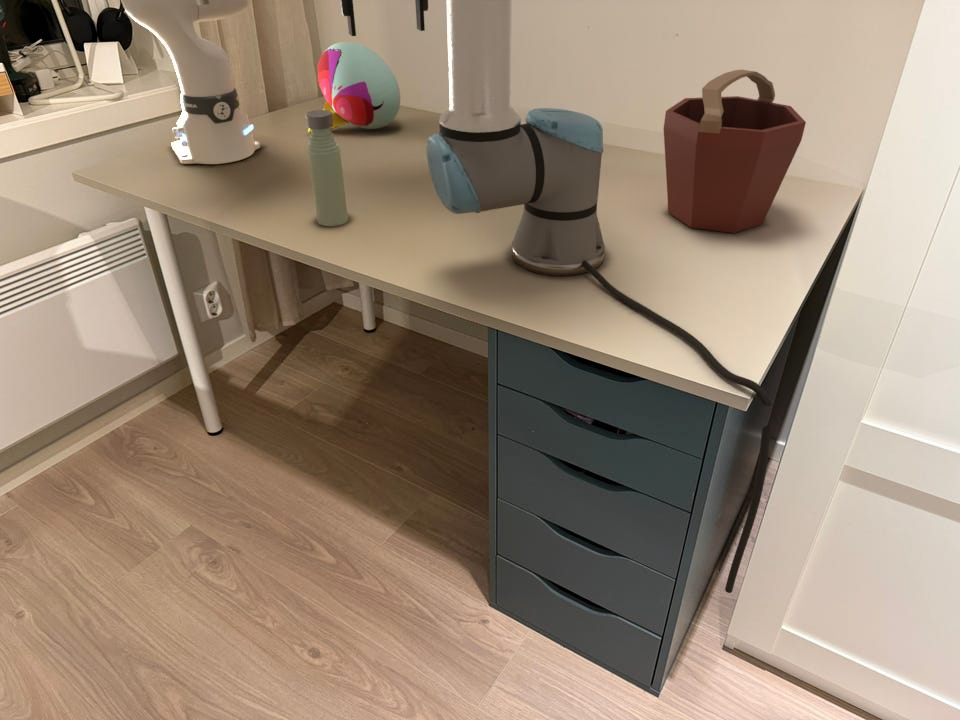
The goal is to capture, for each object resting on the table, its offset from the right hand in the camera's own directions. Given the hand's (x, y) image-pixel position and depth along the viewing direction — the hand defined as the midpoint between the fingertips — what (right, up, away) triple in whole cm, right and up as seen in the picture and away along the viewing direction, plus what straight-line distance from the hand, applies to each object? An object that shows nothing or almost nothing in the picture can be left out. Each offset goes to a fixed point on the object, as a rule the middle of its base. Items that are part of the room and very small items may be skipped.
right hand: (387, 32), depth 136 cm
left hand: (-26, -1, -14) cm, 29 cm away
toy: (-14, -4, +44) cm, 47 cm away
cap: (-10, -21, -16) cm, 28 cm away
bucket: (+61, -36, -4) cm, 71 cm away
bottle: (-9, -37, -5) cm, 39 cm away
